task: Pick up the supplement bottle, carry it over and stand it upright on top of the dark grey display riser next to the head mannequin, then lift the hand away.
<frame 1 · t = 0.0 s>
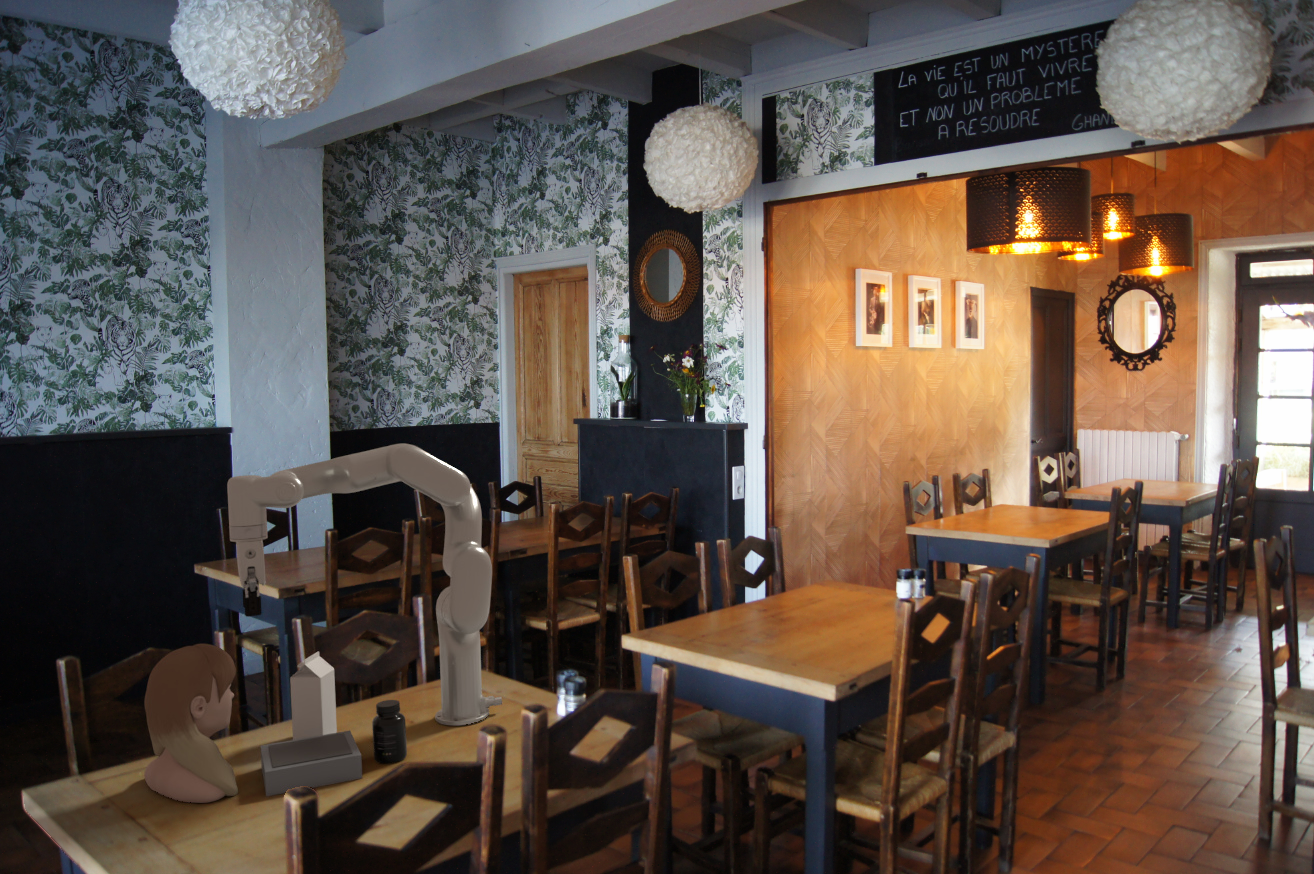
hand: (252, 610, 207), 31 cm above the table, tool pointing down, fingers open, 9 cm apart
milk carton: (315, 738, 217), on the table
head mannequin: (197, 785, 192), on the table
display riser: (311, 772, 196), on the table
supplement bottle: (390, 759, 203), on the table
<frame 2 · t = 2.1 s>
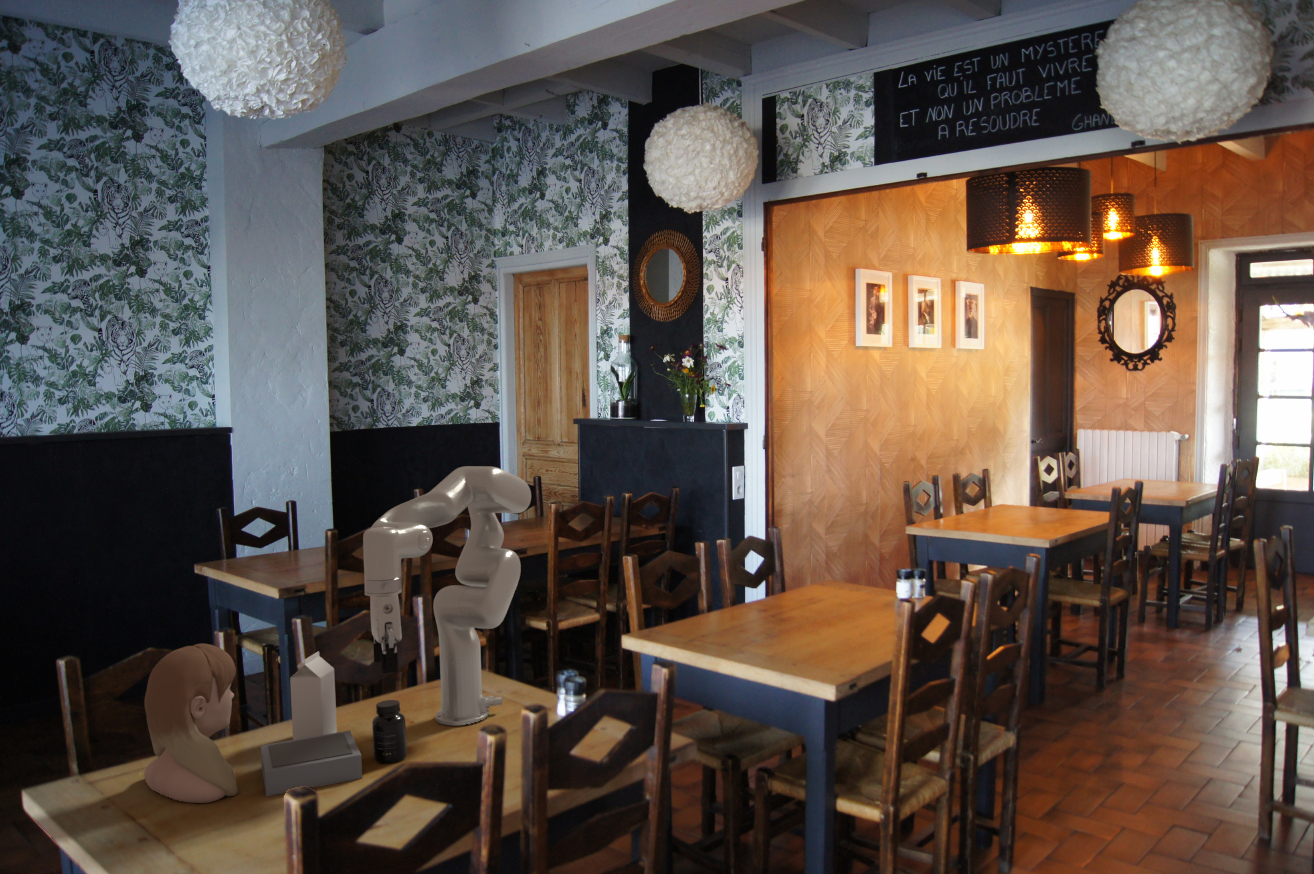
hand: (385, 666, 202), 20 cm above the table, tool pointing down, fingers open, 9 cm apart
nothing on the table moved.
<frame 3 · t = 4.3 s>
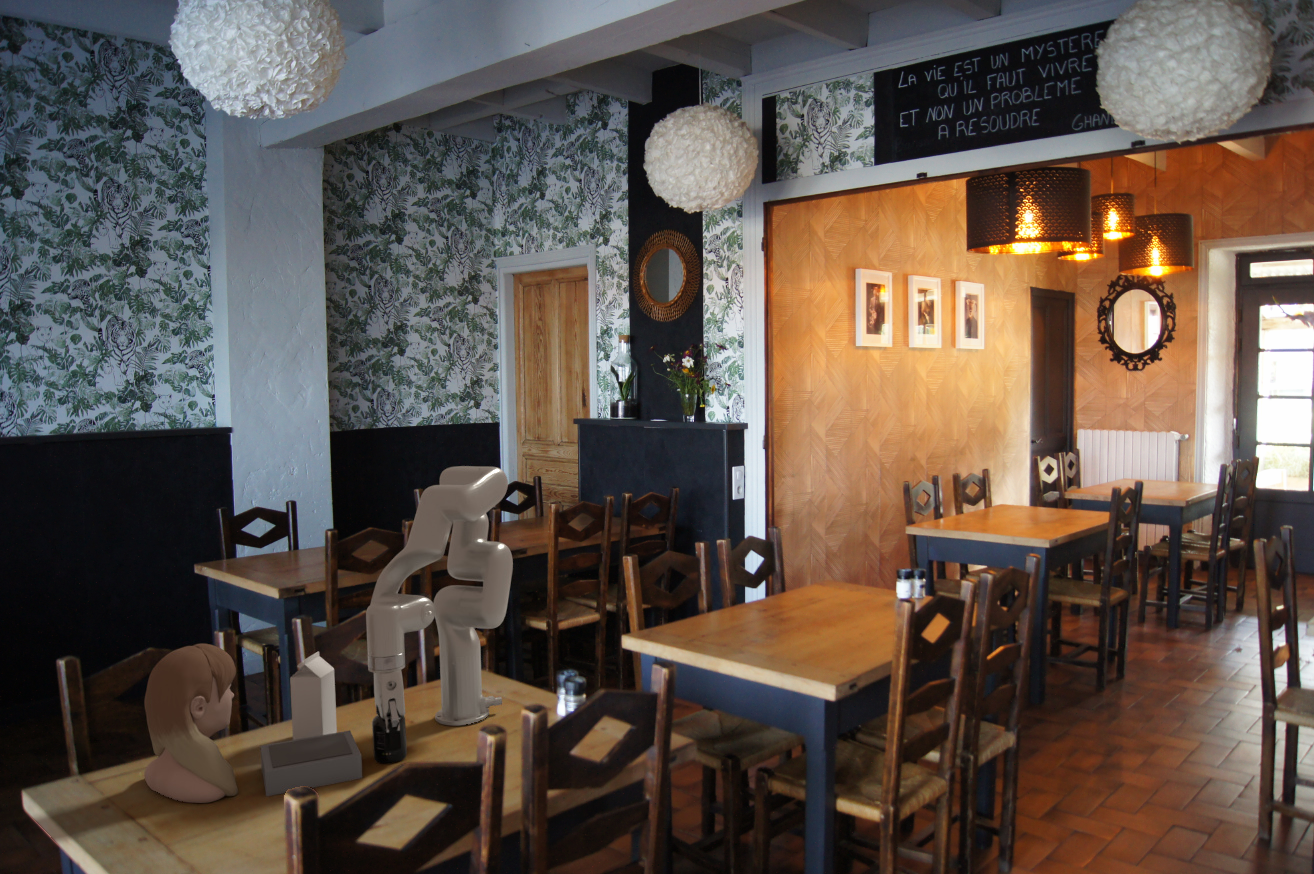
hand: (389, 743, 203), 3 cm above the table, tool pointing down, fingers closed on supplement bottle, 6 cm apart
supplement bottle: (390, 759, 203), on the table, touching gripper
everything else where it was.
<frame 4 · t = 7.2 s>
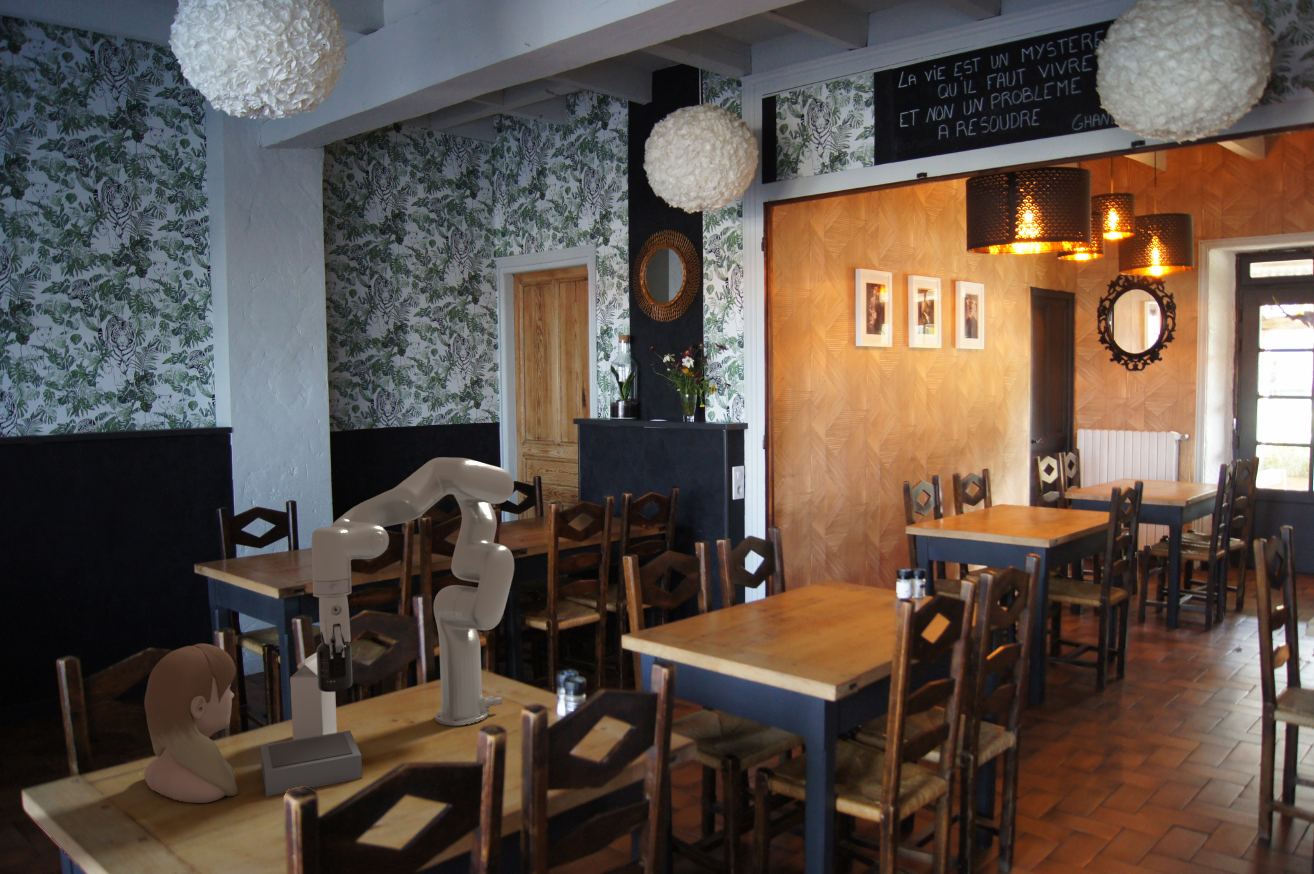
hand: (334, 672, 198), 20 cm above the table, tool pointing down, fingers closed on supplement bottle, 6 cm apart
supplement bottle: (335, 688, 198), point 17 cm above the table, touching gripper
everything else where it was.
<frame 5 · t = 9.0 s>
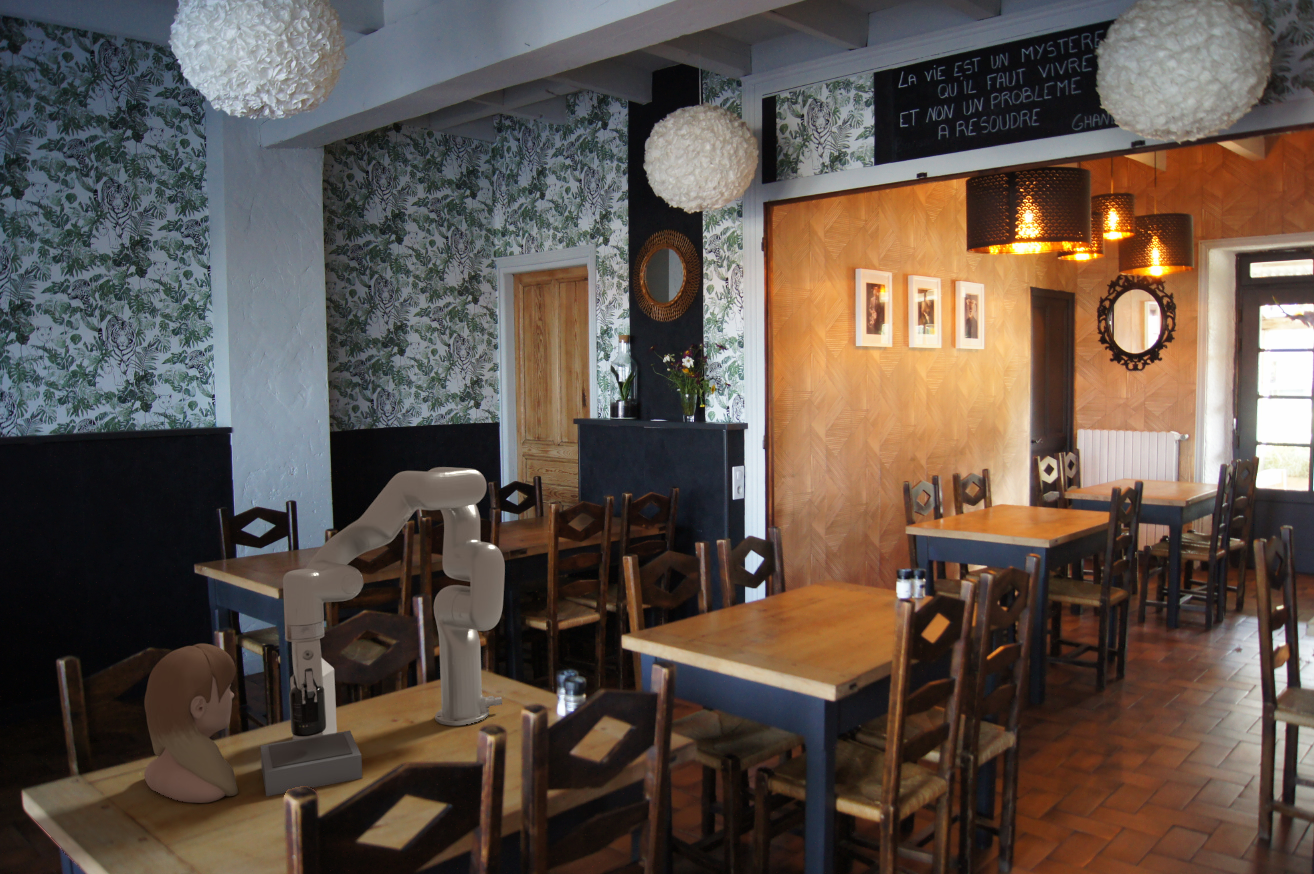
hand: (308, 715, 196), 12 cm above the table, tool pointing down, fingers closed on supplement bottle, 6 cm apart
supplement bottle: (308, 732, 196), point 9 cm above the table, touching gripper
everything else where it was.
when the fingers open (10 cm above the table, at t = 10.4 s): supplement bottle drops 1 cm, resting on display riser.
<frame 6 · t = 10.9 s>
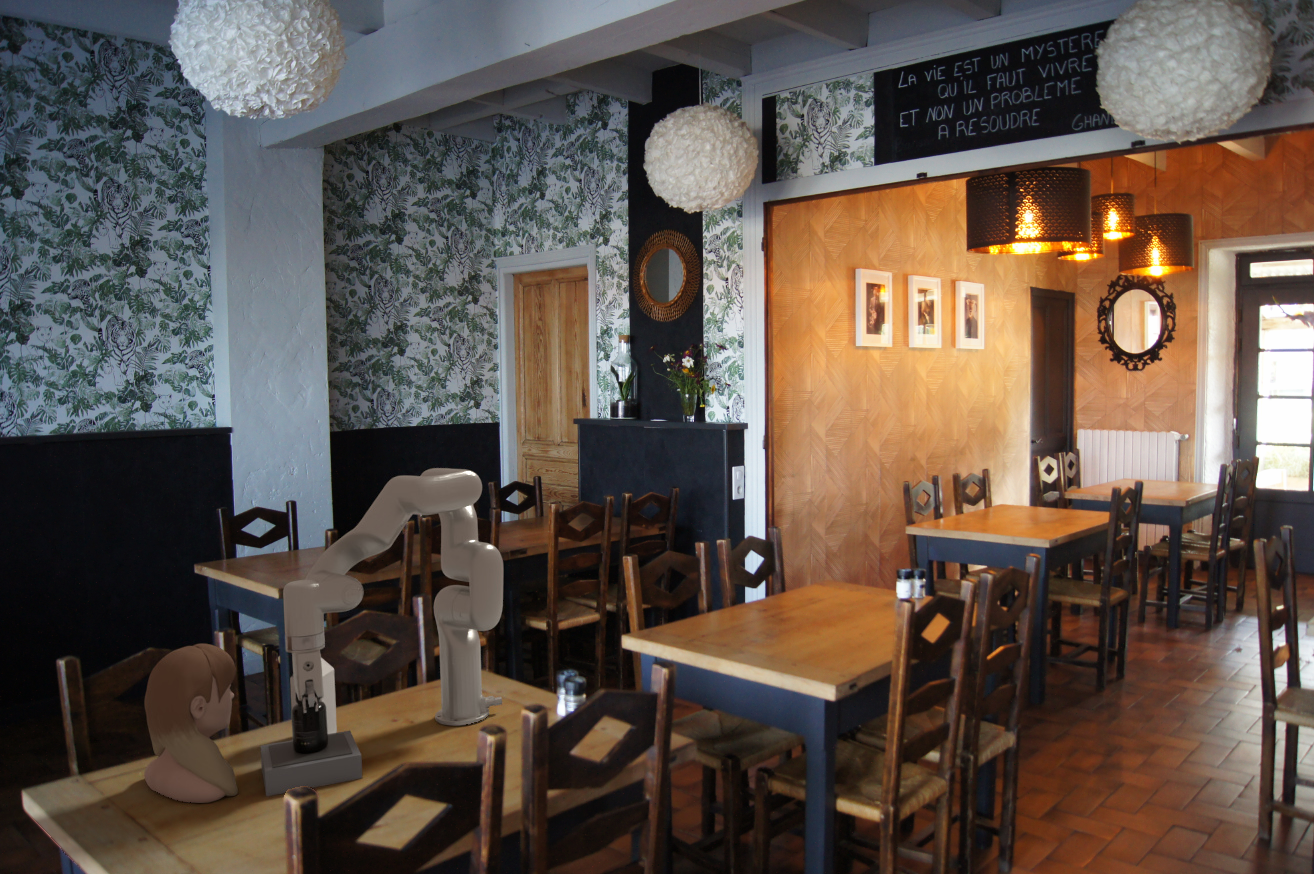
hand: (308, 723, 196), 10 cm above the table, tool pointing down, fingers open, 9 cm apart
supplement bottle: (310, 749, 197), point 5 cm above the table, touching display riser
everything else where it was.
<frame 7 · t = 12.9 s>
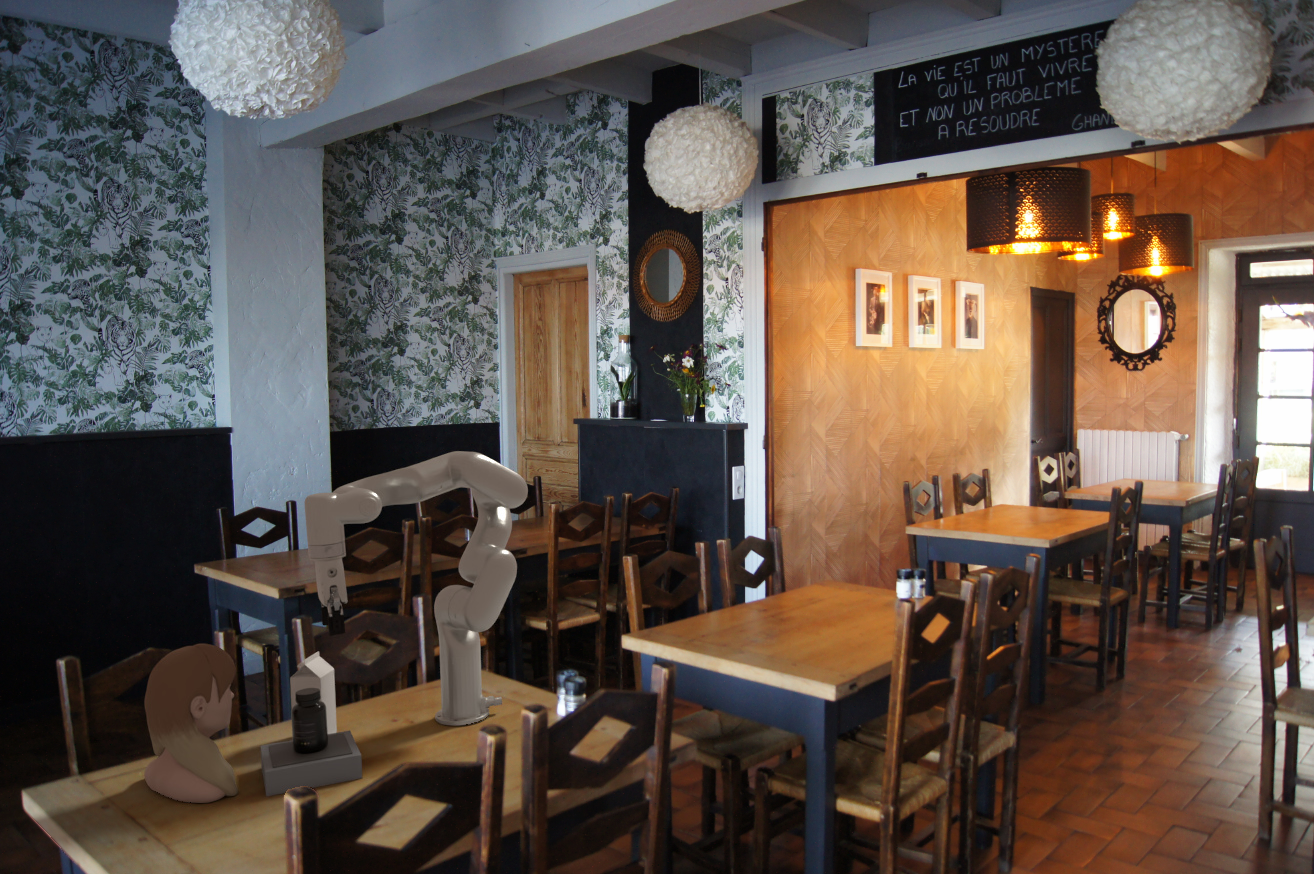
hand: (333, 629, 206), 27 cm above the table, tool pointing down, fingers open, 9 cm apart
nothing on the table moved.
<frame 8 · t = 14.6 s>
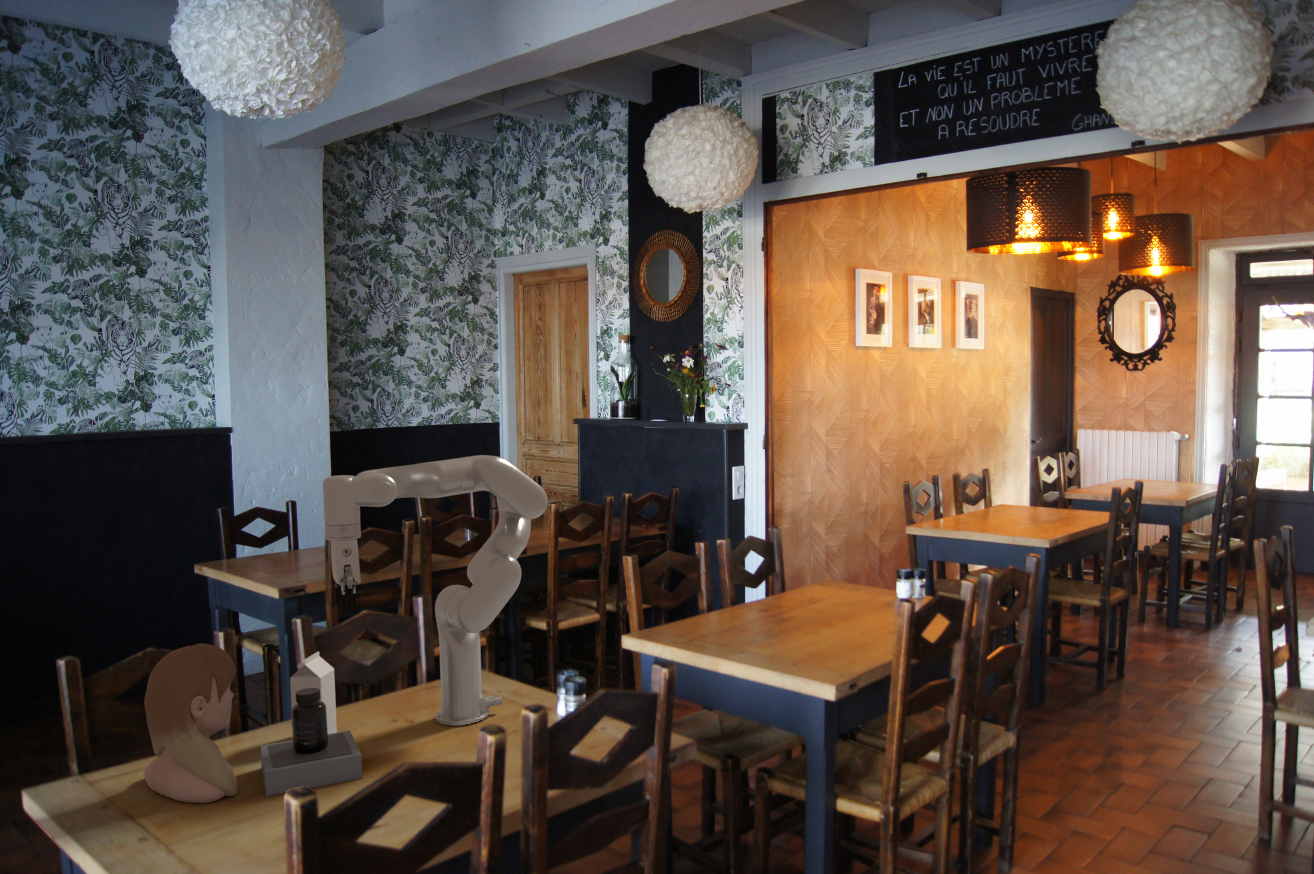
hand: (346, 608, 212), 30 cm above the table, tool pointing down, fingers open, 9 cm apart
nothing on the table moved.
at the end: supplement bottle inside the target area on the display riser (0.4 cm from its centre), point 4.8 cm above the display riser's base; supplement bottle tilted 0°; the gripper is holding nothing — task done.
